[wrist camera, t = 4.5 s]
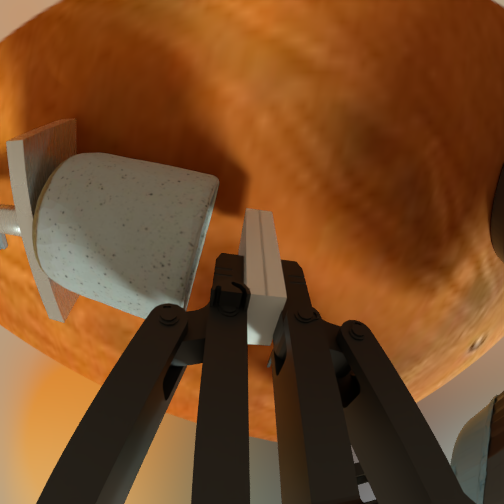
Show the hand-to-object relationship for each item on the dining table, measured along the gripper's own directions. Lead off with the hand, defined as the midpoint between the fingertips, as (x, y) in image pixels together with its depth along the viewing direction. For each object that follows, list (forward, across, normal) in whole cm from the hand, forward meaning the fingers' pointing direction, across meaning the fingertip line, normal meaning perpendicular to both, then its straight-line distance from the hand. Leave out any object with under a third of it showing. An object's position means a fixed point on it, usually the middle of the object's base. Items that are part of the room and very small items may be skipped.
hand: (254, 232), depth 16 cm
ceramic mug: (+2, +6, +1) cm, 7 cm away
